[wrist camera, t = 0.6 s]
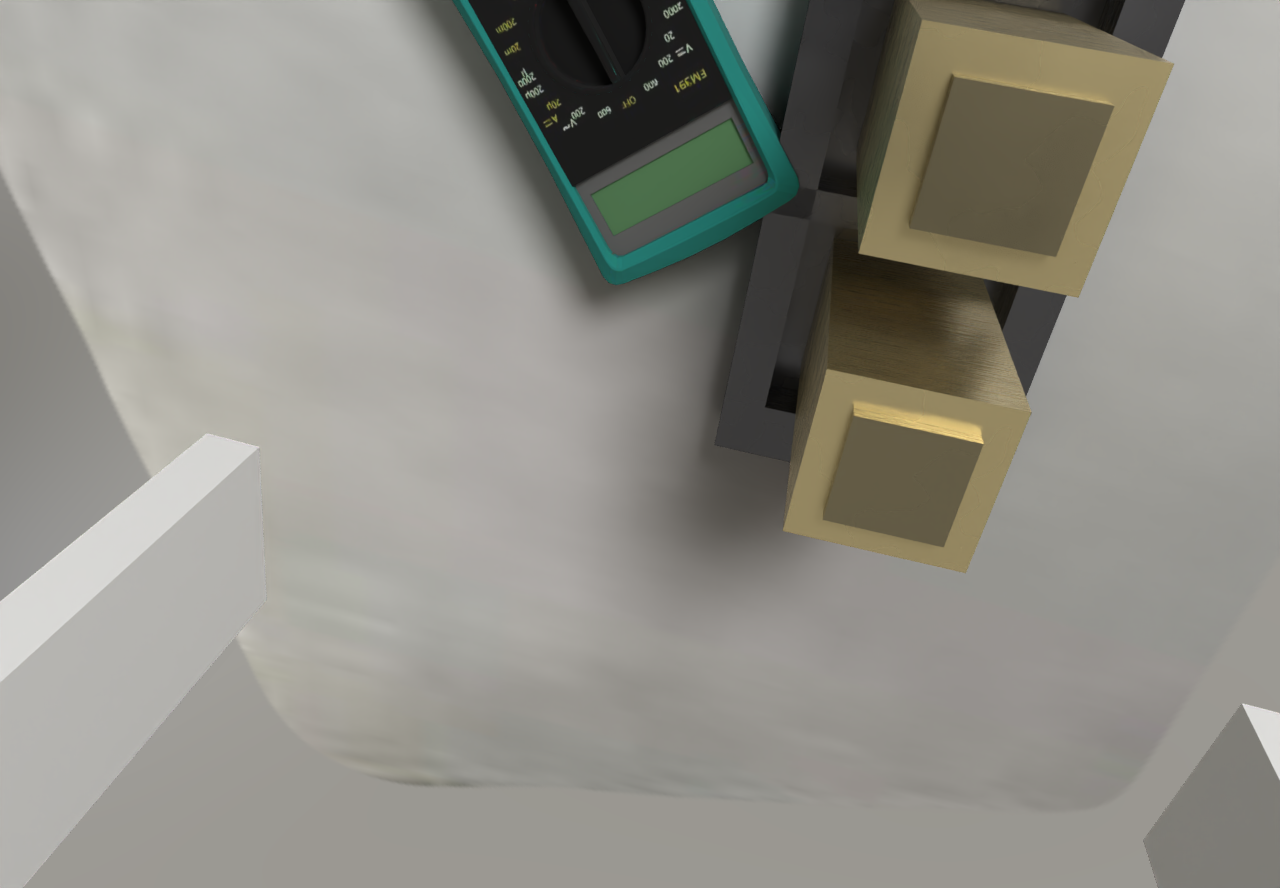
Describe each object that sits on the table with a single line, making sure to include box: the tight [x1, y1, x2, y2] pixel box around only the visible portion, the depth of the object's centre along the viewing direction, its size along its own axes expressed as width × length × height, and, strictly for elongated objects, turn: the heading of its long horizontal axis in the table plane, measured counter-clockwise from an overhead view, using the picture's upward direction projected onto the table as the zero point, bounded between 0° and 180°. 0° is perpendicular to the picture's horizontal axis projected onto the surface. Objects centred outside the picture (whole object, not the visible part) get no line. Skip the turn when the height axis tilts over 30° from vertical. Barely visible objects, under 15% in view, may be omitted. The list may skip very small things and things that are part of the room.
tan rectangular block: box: [856, 0, 1174, 297], centre depth 25 cm, size 5×5×11 cm
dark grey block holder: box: [715, 0, 1185, 462], centre depth 31 cm, size 19×10×2 cm, turn 172°
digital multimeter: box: [452, 0, 799, 285], centre depth 30 cm, size 7×15×3 cm, turn 30°
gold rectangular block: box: [783, 238, 1031, 573], centre depth 29 cm, size 5×5×11 cm
